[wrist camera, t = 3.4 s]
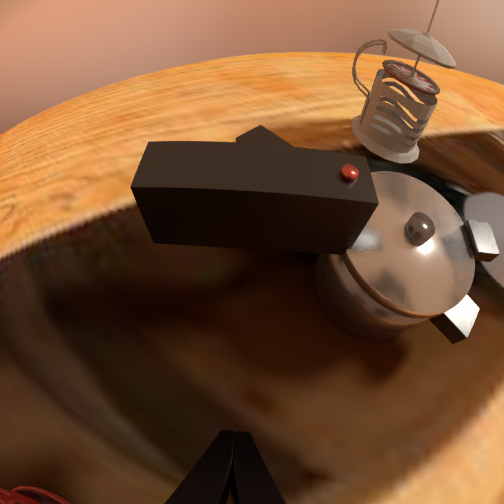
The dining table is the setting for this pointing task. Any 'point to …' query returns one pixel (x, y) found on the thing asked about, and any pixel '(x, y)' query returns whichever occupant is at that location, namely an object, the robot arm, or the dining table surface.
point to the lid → (315, 216)
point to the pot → (355, 298)
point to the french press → (399, 98)
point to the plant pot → (30, 496)
